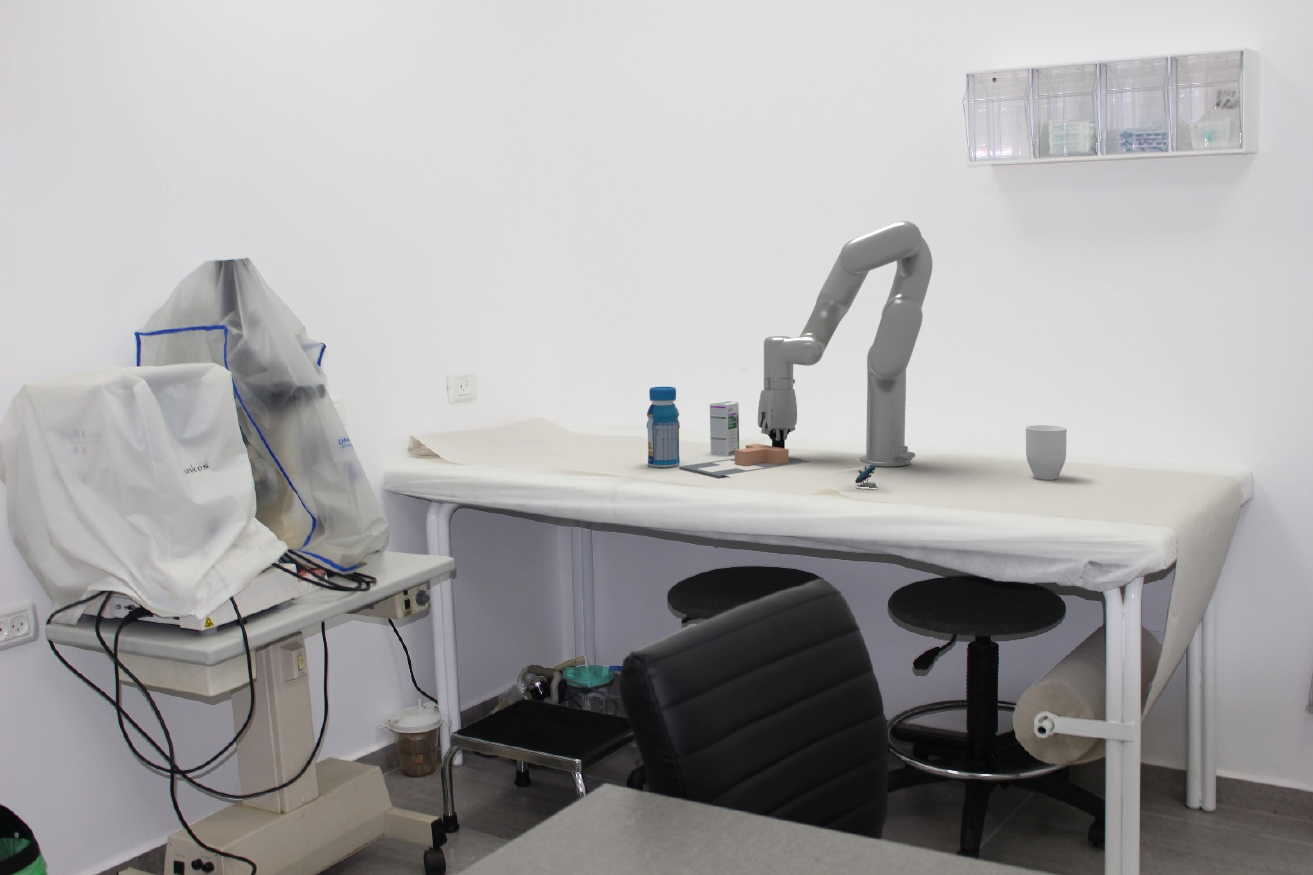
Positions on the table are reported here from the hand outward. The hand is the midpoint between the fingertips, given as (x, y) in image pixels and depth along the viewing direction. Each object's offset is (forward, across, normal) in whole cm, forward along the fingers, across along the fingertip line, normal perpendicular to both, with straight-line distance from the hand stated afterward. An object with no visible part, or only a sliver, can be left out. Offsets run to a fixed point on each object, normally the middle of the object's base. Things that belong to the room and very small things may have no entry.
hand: (778, 454), depth 264 cm
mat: (+2, +11, 0) cm, 11 cm away
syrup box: (+2, +5, -15) cm, 16 cm away
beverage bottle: (+2, +26, -14) cm, 30 cm away
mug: (+2, -33, +55) cm, 65 cm away
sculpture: (+2, +8, +38) cm, 39 cm away
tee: (+1, +8, 0) cm, 8 cm away
